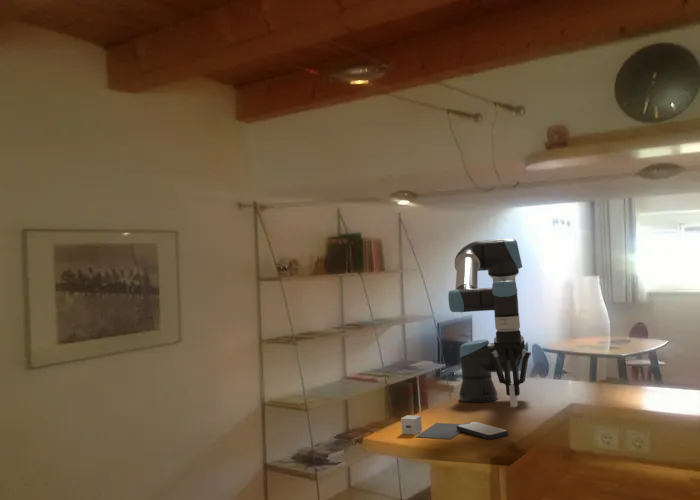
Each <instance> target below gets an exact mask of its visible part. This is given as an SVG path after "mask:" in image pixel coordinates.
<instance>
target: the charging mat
mask: <svg viewBox="0 0 700 500" xmlns="http://www.w3.org/2000/svg"><path fill="white" fill-rule="evenodd" d="M461 424H462V423H449V422H447V423H446V422H443V423H442V422H435V423H434V424H432V425H431V426H429V427H428V428H427V429H425V430H422V431H421V432H420V433H418V434H417V435H415V438H419V439H420V438H422V439H423V438H424V439H425V438H426V439H439V440H452V439H454V438H455V437H456V436H458V435H459V434H461V432H463V431H459V430H457V425H461Z"/></svg>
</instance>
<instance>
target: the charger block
mask: <svg viewBox="0 0 700 500" xmlns="http://www.w3.org/2000/svg"><path fill="white" fill-rule="evenodd" d="M400 423H401V425H400V427H401V434H402V435H411V434H412V436H413V435H415V436H417V435H419V434H420V433H422V432H423V430H422V429H423V427H422V416H421V415H409V414H407V415H405V416H403V417H401V418H400Z"/></svg>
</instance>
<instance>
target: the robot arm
mask: <svg viewBox="0 0 700 500" xmlns="http://www.w3.org/2000/svg"><path fill="white" fill-rule="evenodd" d="M454 258H455V259H454V269H455V270H456V275H455V276H456V277H455V289H450V290H449V291H448V293H447V295H448V297H447V298H448V308H449V311H450V312H452V313H468V312H471V313H472V312H484V311H494V326H495V327H494V328H495V330H496V332H495V337H494V338H493V342H490V341H489V339H487V338H486V339H477V340H473V341H468V342H465V343H463V344H461V345H460V347H459V351H460V352H459V354H460V355H459V357H460V364H461V365H460V366H461V379H462V382H461V386H460V389H459V394H458V396H459V397H458V399H459V401H461V402H463V403H464V402H465V403H487V402H493V401H496V400H497V399H499V398H498V391H497V389H496V386H495V384H494V382H493V379H492V373H496V376H497V379H498V381H499V382H498V383H500V384H504V386H505V391H506V396H509V400H510V401H509V404H510V408H517V406H518V405H519V404H518V396H520V391H521V390H520V389H521V388H520V385H521V384H523V383H525V382H526V374H527V370H528V363H529V359H530V357H531V355H532V352H531V351H529V344H528V341H525V338H524V336H522V333H521V330H520V329H521V322H520V312H519V299H518V297H519V296H518V287H517V282H516V277H517V276H518V274H519V273H520V272H519V271H520V269H521V268H523V263H522V257H521V255H520V249H519V245H518V241H517V240H516V239H515V238H497V239H488V240H487V239H486V240H477V241H476V240H475V241H473V242H469V243H468V244H466V245H465V246H463V247H462V248H461V249H460V250H459V251H458V252H457V254H456V256H455V257H454ZM482 271H483V272H484V271H487V273H488V274H487V275H488V276H489V277H490V278H491V279H492V284H491V286H492V287H481V288H480V287H479V286H478V272H482ZM478 287H479V288H478ZM519 372H520V373H519ZM511 373H512V378H511ZM511 379H512V380H513V381H512V380H511ZM512 382H513V383H512Z"/></svg>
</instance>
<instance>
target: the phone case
mask: <svg viewBox="0 0 700 500" xmlns="http://www.w3.org/2000/svg"><path fill="white" fill-rule="evenodd" d="M460 424H461V425H457V430H459V431H462V432H463V433H466V434H470V435H472V436H475V437H480V438H483V439H486V440H493V439H498V438H502V437H506V436H508V435H509V430H508V429H504V428H500V427H498V426H497V427H496V426H493V425H489V424H486V423H481V422H479V421H470V422H466V423H460Z"/></svg>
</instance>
